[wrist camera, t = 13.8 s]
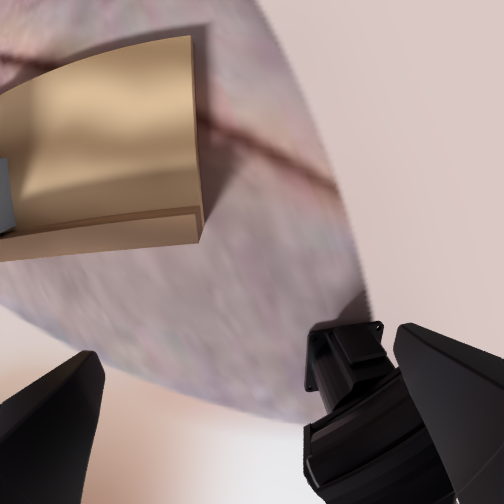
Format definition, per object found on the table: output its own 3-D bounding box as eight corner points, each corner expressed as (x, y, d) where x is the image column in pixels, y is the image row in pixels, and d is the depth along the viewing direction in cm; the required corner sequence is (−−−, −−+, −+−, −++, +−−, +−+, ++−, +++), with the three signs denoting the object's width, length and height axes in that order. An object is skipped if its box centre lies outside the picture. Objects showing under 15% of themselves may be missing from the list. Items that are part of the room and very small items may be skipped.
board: (204, 224, 19) (198, 243, 15) (-11, 249, 17) (-39, 266, 14) (193, 43, 15) (184, 18, 11) (-26, 116, 14) (-56, 117, 10)
